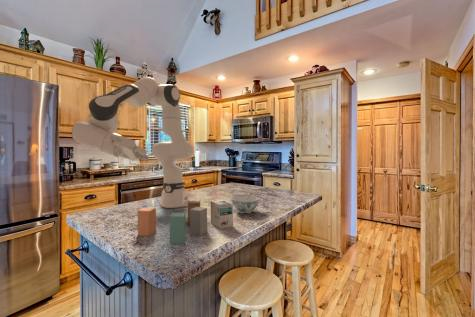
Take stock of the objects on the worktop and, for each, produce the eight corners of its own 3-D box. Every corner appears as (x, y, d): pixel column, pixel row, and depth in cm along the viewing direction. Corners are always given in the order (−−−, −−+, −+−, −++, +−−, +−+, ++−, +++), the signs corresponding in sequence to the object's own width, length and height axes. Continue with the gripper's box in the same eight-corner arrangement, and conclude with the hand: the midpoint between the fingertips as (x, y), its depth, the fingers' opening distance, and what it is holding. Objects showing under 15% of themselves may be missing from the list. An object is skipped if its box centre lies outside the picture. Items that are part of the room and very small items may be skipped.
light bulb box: (233, 227, 104) (233, 202, 104) (219, 229, 101) (219, 204, 100) (223, 220, 113) (222, 198, 113) (210, 222, 110) (209, 199, 109)
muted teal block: (172, 238, 90) (172, 212, 90) (185, 238, 91) (185, 212, 90) (169, 243, 85) (169, 216, 85) (183, 243, 86) (183, 216, 85)
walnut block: (189, 221, 112) (189, 200, 111) (200, 221, 112) (200, 200, 111) (187, 225, 107) (187, 203, 106) (198, 224, 107) (198, 203, 106)
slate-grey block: (197, 229, 100) (196, 206, 100) (207, 231, 98) (206, 207, 98) (190, 233, 95) (189, 209, 95) (200, 235, 93) (200, 210, 93)
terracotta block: (145, 230, 99) (145, 207, 98) (156, 231, 98) (155, 208, 97) (137, 235, 94) (137, 210, 94) (148, 236, 93) (148, 211, 92)
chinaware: (244, 217, 118) (244, 202, 117) (226, 211, 129) (226, 197, 129) (265, 212, 127) (265, 198, 127) (246, 207, 139) (246, 194, 138)
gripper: (112, 128, 89) (148, 141, 91) (121, 144, 108) (151, 155, 110) (104, 143, 87) (141, 156, 89) (115, 157, 106) (146, 167, 108)
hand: (147, 156), depth 100 cm, fingers open, 8 cm apart
